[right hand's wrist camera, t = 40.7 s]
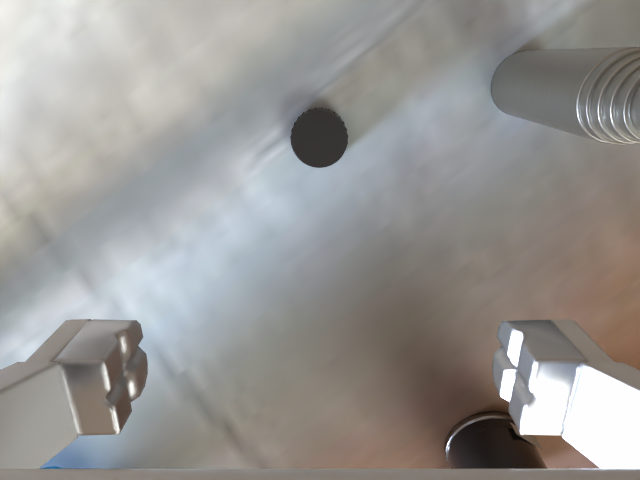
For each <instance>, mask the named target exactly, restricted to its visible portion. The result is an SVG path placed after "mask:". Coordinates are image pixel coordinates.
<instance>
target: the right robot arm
mask: <svg viewBox="0 0 640 480" xmlns="http://www.w3.org/2000/svg"><path fill="white" fill-rule="evenodd" d="M142 338H143V334H142V329H141V324H140V323H139V322H138V321H137V320H91V319H72V320H67V321H65V322H64V323H63V324H62V325H61V326H60V327H59V328H58V329H57V330H56V331H55V332H54V333H53V334H52V335H51V336H50V337H49V338H48V339H47V340H46V341H45V342H44V343H43V344H42V345H41V346H40V347H39V348H38V350H37V351H36V352H35V353H34V354H33V355H32V356H31V357H30V358H29V359H28V360H27V361H26V362H17V363H15V364H13V365H10V366H8V367H6V368H4V369H2V370H0V480H640V370H638V369H636V368H634V367H632V366H630V365H627V364H625V363H623V362H614V361H613V360H612V359H611V358H610V357H609V356H608V355H607V354H606V353H605V351H604V350H603V349H602V348H601V347H600V346H599V345H598V344H597V343H596V342H595V341H594V340H593V339H592V338H591V337H590V336H589V335H588V334H587V333H586V332H585V331H584V330H583V329H582V328H581V327H580V326H579V325H578V324H577V323H576V322H575V321H573V320H570V319H557V320H525V321H502V322H501V324H500V326H499V328H498V333H497V338H498V340H499V342H500V343H501V345H502V346H501V347H500V348H499V349H498V350H497V351H496V352H495V353H494V357H493V364H492V370H493V380H494V383H495V386H496V389H497V391H498V393H499V395H500V396H501V397H502V398H504V399H505V400H507V401H508V402H510V403H509V408H508V412H509V414H510V415H511V417H512V419H513V421H514V423H515V425H516V426H517V428H518V430H519V432H520V434H527V435H563V436H562V438H564V439H565V440H566V441H567V442H569V443H570V444H571V445H572V446H574V447H575V448H576V449H577V450H579V451H580V452H581V453H582V454H584V455H585V456H586V457H587V458H589V459H590V460H591V461H592V462H594V463H595V464H596V465H598V466H599V467H600V468H601V469H39V468H40V467H41V466H43V465H44V464H45V463H46V462H48V461H49V460H50V459H51V458H53V457H54V456H55V455H56V454H58V453H59V452H60V451H62V450H63V449H64V448H65V447H67V446H68V445H69V444H70V443H72V442H73V441H74V440H75V439H77V438H78V436H77V435H112V434H120V432H121V430H122V428H123V426H124V425H125V423H126V421H127V419H128V417H129V415H130V414H131V412H132V408H131V403H130V402H132V401H133V400H135V399H136V398H138V397H139V396H140V395H141V393H142V391H143V389H144V387H145V383H146V378H147V374H148V363H147V356H146V353H145V352H144V351H143V350H142V349H141V348H140V347H139V346H138V345H139V343H140V342H141V340H142Z"/></svg>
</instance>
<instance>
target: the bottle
mask: <svg viewBox="0 0 640 480" xmlns="http://www.w3.org/2000/svg"><path fill="white" fill-rule="evenodd" d="M491 94H492V98H493V101H494V103H495V104H496V106H497V107H498V108H499V109H500V110H501V111H503V112H504V113H506V114H509V115H512V116H516V117H519V118H522V119H526V120H529V121H532V122H536V123H539V124H542V125H546V126H549V127H552V128H556V129H559V130H562V131H566V132H569V133H572V134H576V135H579V136H582V137H586V138H589V139H592V140H596V141H599V142H603V143H610V144H617V145H626V144H638V143H640V47H620V48H590V49H559V50H529V51H520V52H517V53H514V54H512V55H510V56H509V57H507V58H506V59H505V60H504V61H503V62H502V63H501V64H500V65H499V66H498V68H497V69H496V71H495V73H494V75H493V78H492V82H491Z"/></svg>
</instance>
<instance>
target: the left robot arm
mask: <svg viewBox="0 0 640 480" xmlns="http://www.w3.org/2000/svg"><path fill="white" fill-rule="evenodd" d="M535 446H536V447H538V448H540V449H541V450H542V448H541V446H540V445H539V443H538V441H537V440H536V438H534V437H533V436H531V435H527V434H520V432H519V430H518V428H517V426H516V425H515V423H514V421H513V419H512V417H511V415H508V414H504V413H498V412H488V413H481V414H477V415H474V416H471V417H469V418H467V419H465V420H463V421H462V422H460V423H459V424H458V425H456V426H455V427H454V428H453V429H452V431H451V432H450V433H449V435H448V437H447V439H446V442H445V455H446V458H447V461H448V463H449V465H450V467H451V469H547V467H546V465H545V463H544V461H543V460H542V458H541V456H540V454H539V452H538V450H537V449H536V447H535Z"/></svg>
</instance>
